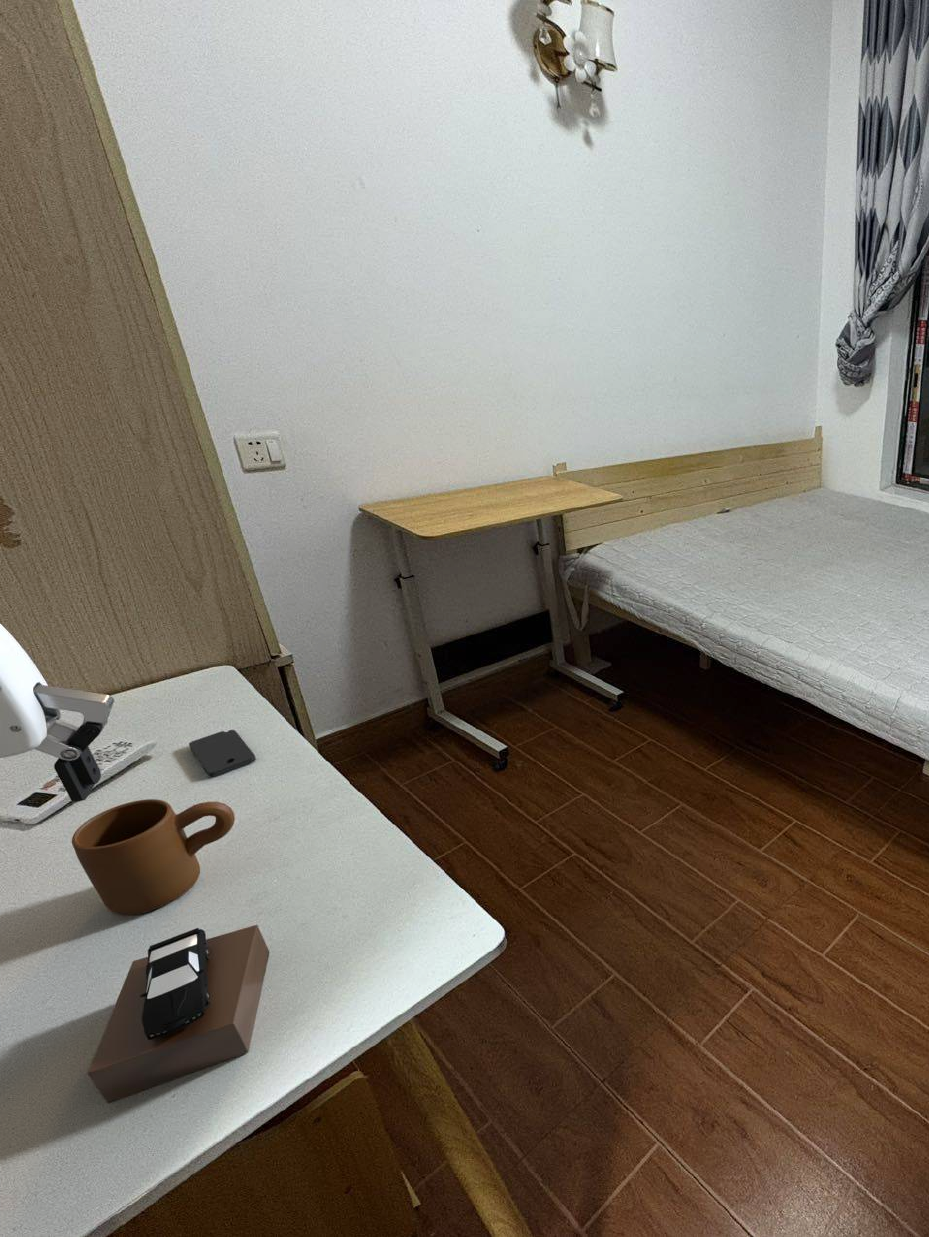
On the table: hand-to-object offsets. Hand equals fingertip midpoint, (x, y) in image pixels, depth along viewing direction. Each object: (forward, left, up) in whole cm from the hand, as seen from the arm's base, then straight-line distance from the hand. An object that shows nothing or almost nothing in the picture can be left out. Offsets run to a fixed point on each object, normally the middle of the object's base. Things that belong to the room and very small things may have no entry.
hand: (4, 806), depth 54 cm
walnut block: (+8, -9, -21) cm, 24 cm away
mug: (+3, +11, -21) cm, 24 cm away
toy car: (+8, -9, -17) cm, 21 cm away
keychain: (+2, +36, -21) cm, 42 cm away
